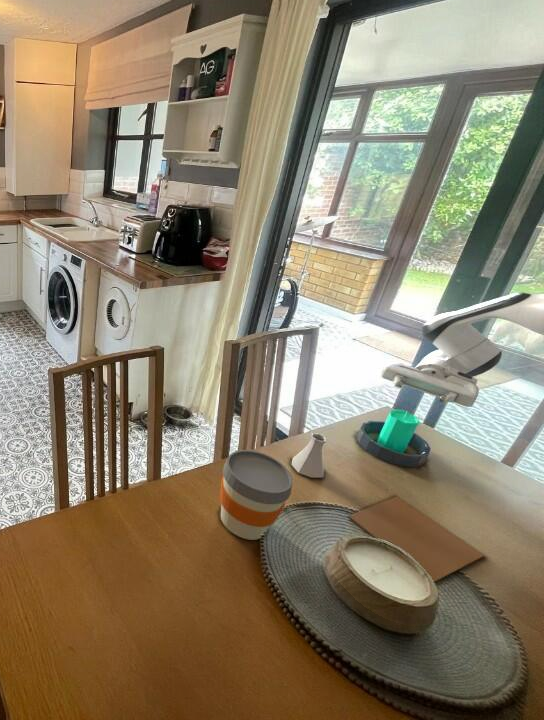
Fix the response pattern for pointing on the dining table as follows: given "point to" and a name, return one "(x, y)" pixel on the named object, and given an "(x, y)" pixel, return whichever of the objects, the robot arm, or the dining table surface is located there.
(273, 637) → the dining table surface
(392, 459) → the ring
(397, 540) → the mat
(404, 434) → the candle
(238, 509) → the reusable coffee cup
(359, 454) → the dining table surface
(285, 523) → the dining table surface
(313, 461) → the flask
